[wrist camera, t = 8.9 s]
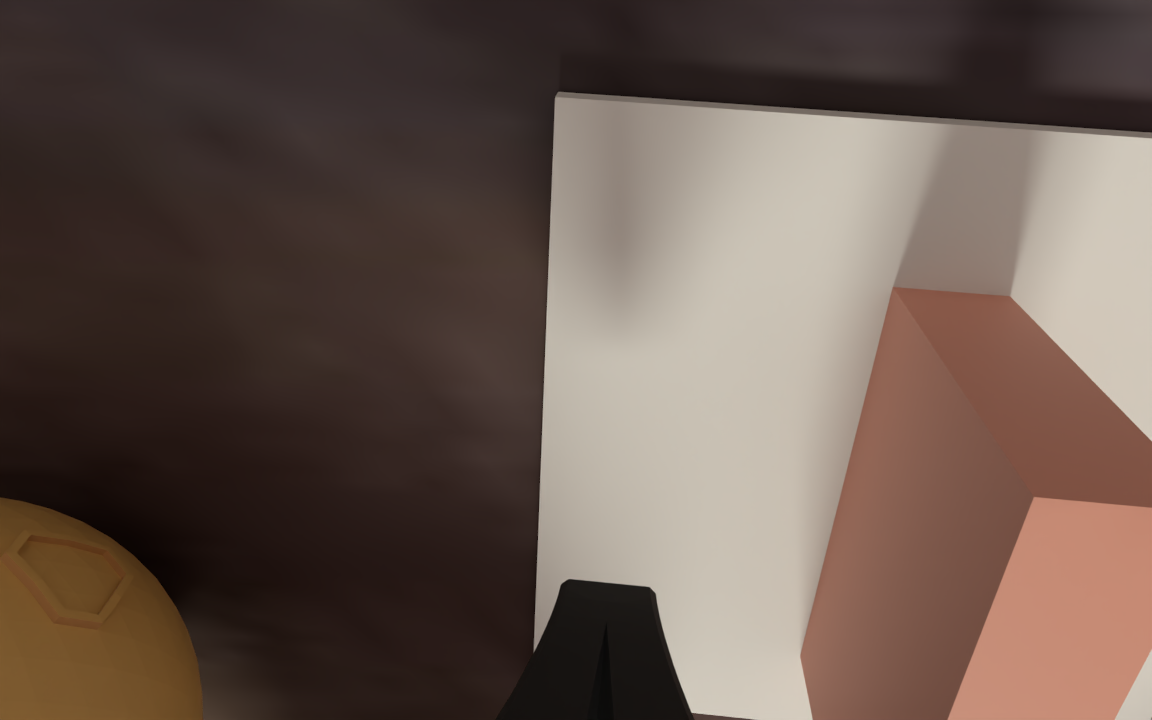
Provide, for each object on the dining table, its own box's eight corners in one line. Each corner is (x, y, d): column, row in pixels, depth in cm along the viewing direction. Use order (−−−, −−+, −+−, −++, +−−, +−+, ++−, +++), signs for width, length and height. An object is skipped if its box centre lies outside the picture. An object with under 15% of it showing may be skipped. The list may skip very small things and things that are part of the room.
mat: (1117, 740, 20) (1128, 759, 19) (534, 679, 20) (532, 695, 20) (1435, 152, 13) (1463, 160, 13) (558, 92, 14) (555, 97, 13)
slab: (890, 665, 18) (986, 962, 13) (800, 656, 18) (858, 947, 13) (1009, 296, 14) (1222, 514, 9) (893, 286, 14) (1034, 497, 9)
